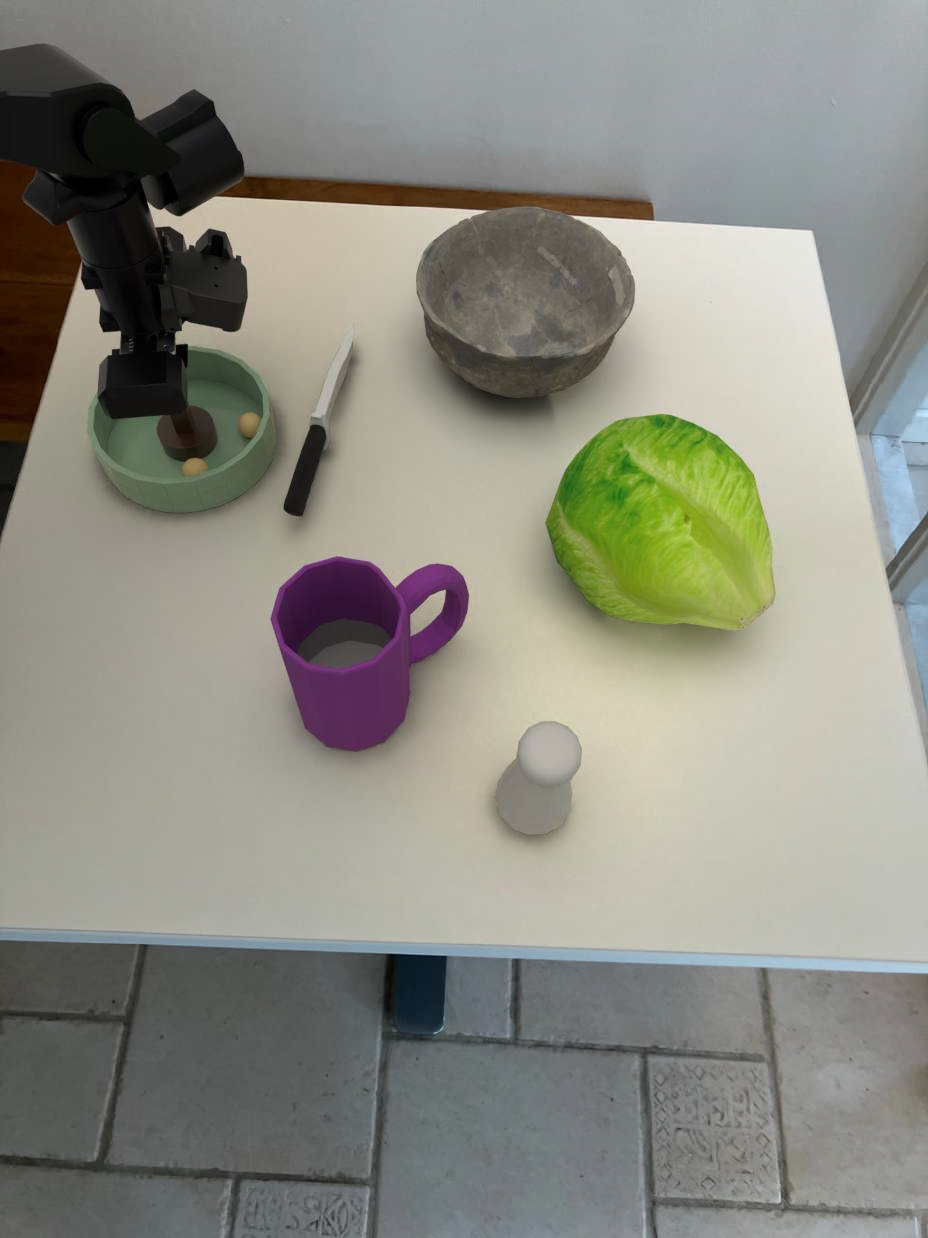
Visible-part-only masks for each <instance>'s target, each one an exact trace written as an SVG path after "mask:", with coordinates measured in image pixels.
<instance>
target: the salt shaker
mask: <svg viewBox="0 0 928 1238" xmlns="http://www.w3.org/2000/svg"><path fill="white" fill-rule="evenodd" d="M582 755H583V747H582V745H581V742H580V739H579V737H578V735H577V734H576V733H575V732H574V731H573V730H572V729H571V728H570V727H569V726H568V725H565V724H563V723H561V722H558V721H555V720H547V721H539V722H537V723H536V724H533V725H531V726H530V727H529V726H528V728H527V729H526V730H525V732H524V733H523V735H522V736H521V738H519V740H518V744H517V750H516V758H515V759H513V761H512V762H511V763H509V765H507V766H506V768H505V769H504V771H503V772H502V773H501V775H500V776H499V778H498V779H497V782H496V788H495V793H494V799H495V803H496V805H497V807H498V808H497V809H498V811H499V814H500V817H501V818H502V819H503V820H504V821H505V822H506V823H507V824H508V825H509V826H510V828H511V829H512V830H515V831H518V832H521V833H523V834H526V835H528V836H529V835H530V836H531V835H546V834H548V833H549V832H551V831H553V830H555V829H556V828H558V827H560V826H561V825H562V824H563V823H564V821H565V819H566V818H567V816H568V815H569V813H570V812H571V808H572V798H573V790H572V780H573V778H574V776H575V775H576V773H577V772H578V771H579V769H581V765H582V757H583V756H582Z"/></svg>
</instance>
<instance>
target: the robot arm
mask: <svg viewBox="0 0 928 1238" xmlns="http://www.w3.org/2000/svg"><path fill="white" fill-rule="evenodd" d="M0 161H5V162H11V163H14V164H18V165H20V166H21V165H22V166H25V167H27V168H28V167H29V168H31V169H34V170H35V174H34V177H33V179H32V180H31V182H29V183H28V185H27V186H26V188H25V191H24V192H23V194H22V200H23V202H24V203H25V204H26V205H27V206H28V207H30V208H31V209H33V210H34V211H35V212H36V213H37V214H39V216H41V217H43V218H44V219H45V220H46V221H47V222H49V223H50V224H51V225H53V226H55V227H60V226H61V225H63V224H65V223H66V224H67V226H68V229H69V231H70V234H71V236H72V239H73V241H74V244H75V246H76V249H77V251H78V254H79V256H80V259H81V268H80V269H81V272H80V280H81V283H82V285H83V288H84V290H85V291H90V290H94V292H95V296H96V298H97V300H98V302H99V316H98V317H99V318H98V324H99V326H100V328H101V331H102V333H115V332H116V333H117V332H120V340H119V348H112V349H111V354H107V356H106V357H105V358H104V359H103V360H102V361H101V362H100V363H99V367H98V380H97V390H98V393H97V399H98V401H99V403H100V405H101V407H102V409H103V411H104V414H105V415H106V416H108V417H109V418H111V419H124V418H137V417H149V416H161V415H174V414H181V413H182V412H183V411H184V410H186V409H187V403H188V382H187V376H186V369H187V366H188V346H189V344H188V343H178V344H177V336H176V334H177V332H183V325H184V324H185V322H187V323H190V324H195V325H198V326H199V325H200V326H205V327H211V328H214V329H215V328H216V329H220V330H222V331H223V332H226V333H237V332H238V331H240V330H241V327H242V324H243V319H244V316H245V311H246V307H247V303H248V299H249V290H248V289H249V288H248V287H249V286H248V270H247V267H246V266H245V265H244V264H243V262H242V255H238V254H236V255H235V256H234V252H233V251H234V250H233V246H232V244H231V241H230V239H229V236H228V233H227V232H226V231H222V230H219V229H215V228H208V229H206V231H205V232H204V233H203V234H201V236H200V237H198V239H197V240H196V241H195V244H194V245H193V244H189V245H188V246H187V243H186V240H185V236H184V234H183V233H181V232H180V231H178V230H176V229H174V228H173V227H171V226H169V225H167V226H156V225H155V222H154V218H153V215H152V212H151V209H150V206H152V208H154V209H156V210H158V211H162V210H164V209H165V210H166V212H168V213H169V214H171V215H173V216H175V217H178V218H179V217H180V218H181V217H183V216H184V215H187V214H188V213H189V212H191V211H193V210H195V209H196V208H198V207H200V206H201V205H203V204H205V203H206V202H208V201H210V200H212V199H213V198H215V197H217V196H219V195H220V194H222V193H224V192H225V191H227V190H229V189H230V188H232V187H234V186H235V185H237V184H239V183H240V182H242V181H243V179H244V177H245V162H244V157H243V154H242V152H241V151H240V150H239V149H238V146H237V145H236V142H235V140H234V138H233V136H232V134H231V133H230V131H229V129H228V128H227V126H226V125H225V123H224V122H223V121H222V120H221V118H220V117H219V116H218V115H217V110H216V106H215V101H214V100H212V99H211V98H209V97H208V96H206V95H205V94H204V93H202V92H200V91H198V90H197V89H195V88H192V89H191V90H189V91H187V92H185V93H183V94H182V95H180V96H179V97H178V98H177V99H176V100H175V101H174V102H171V103H170V104H168V105H167V106H165V107H163V108H161V109H159V110H157V111H155V112H153V113H152V114H150V115H147V116H145V117H143V118H142V119H139V118H137V117H136V113H135V111H134V108H133V106H132V103H131V100H130V99H129V98H128V96H127V95H126V94H125V93H124V92H123V90H122V89H121V88H119V87H118V86H117V85H115V84H114V83H113V82H111V81H109V80H108V79H107V78H105V77H104V76H102V75H101V74H99V73H98V72H96V71H95V70H93V69H92V68H91V67H89V66H88V65H86V64H85V63H83V62H82V61H80V60H79V59H77V58H76V57H74V56H73V55H71V54H70V53H69V52H67V51H65V50H64V49H62V48H61V47H59V46H56V45H54V44H49V43H34V44H28V45H23V46H17V47H11V48H5V49H0ZM149 205H150V206H149Z"/></svg>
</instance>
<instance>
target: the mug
mask: <svg viewBox="0 0 928 1238" xmlns="http://www.w3.org/2000/svg"><path fill="white" fill-rule="evenodd" d="M443 591H445V595H444V602H443V604H442V608H441V612H440V613H439V614H438V615H437V616H436V617H435V618H434V619H433V620H432V621H431V622H430V623H429V624H427V626H425V627H424V628H423V629H422V630H420V631H419V632H417V633H415V634H413V635H412V633H411V632H412V631H411V629H412V628H411V627H412V624H411V622H412V621H411V615H412V614H413V613H414V612H415V611H416V610H417V609H419V608H420V606H421V605H423V603H425V602H426V601H427V599H429V597H430V596H433V595H435V594H437V593H439V592H443ZM469 600H470V593H469V589H468V584H467V582H466V579H465V576H464V575H463V574H462V573H461V572H460V571H459V570H458V569H456V568H455V567H454V566H453V565H450V564H445V563H444V564H443V563H429V564H427V565H425V566H422V567H420V568H418V569H416V570H414V571H413V572H412V573H410V574H409V575H407V576H406V577H405V578H404V579H402V581H400V582H399V583H398V584H397V585H396V587H395V586H394V585H393V583H392V582H391V581H390V579H389V578H388V576H387V575H386V574H385V573H384V572H383V571H382V569H381V568H380V567H379V566H377V565H376V564H374V563H373V562H372V561H369V560H363V559H356V558H350V557H344V556H338V555H336V556H333V557H329V558H326V559H322V560H317V561H314V562H312V563H308V564H304V565H303V566H302V567H301V568H299V570H296V572H295V573H294V574H293V575H292V576H291V577H289V578H288V579H287V580H286V581H285V582H284V583H283V584H282V585H281V586H280V587H279V588H278V591H277V594H276V597H275V601H274V605H273V608H272V612H271V614H270V623H271V626H272V629H273V632H274V635H275V640H276V642H277V646H278V648H279V651H280V655H281V658H282V661H283V664H284V667H285V670H286V673H287V677H288V679H289V682H290V686H291V689H292V692H293V695H294V698H295V701H296V705H297V708H298V711H299V714H300V718H301V720H302V724H303V727H304V729H306V730H307V731H308V732H309V733H310V734H312V735H313V736H314V737H315V738H316V739H317V740H319V741H320V742H321V743H322V744H324V745H325V746H326V747H328V748H329V747H330V748H334V749H340V750H347V751H352V752H358V751H361V750H364V749H367V748H370V747H373V746H376V745H379V744H382V743H385V742H386V741H387V740H388V739H389V737H390V736H391V735H393V733H394V732H395V731H396V730H397V729H398V728H399V727H400V726H401V724H403V722H404V721H405V719H406V714H407V710H408V705H409V701H410V696H411V685H410V683H411V682H410V680H411V679H410V668H411V667H412V666H413V665H415V664H418V663H421V662H423V661H425V660H426V659H428V658H430V657H431V656H433V655H435V654H436V653H438V652H439V651H440V650H441V649H443V648H444V647H445V646H446V645H447V644H448V643H450V642H451V641H452V640H453V638H454V637H455V636H456V634H457V633H458V632H459V631H460V629H461V628H462V627H463V625H464V622H465V620H466V618H467V615H468V611H469V603H470V602H469Z"/></svg>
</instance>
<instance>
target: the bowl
mask: <svg viewBox="0 0 928 1238" xmlns="http://www.w3.org/2000/svg"><path fill="white" fill-rule="evenodd" d="M415 284H416V285H415V286H416V295H417V298H418V301H419V303H420V306H421V309H422V311H423V321H424V330H425V336H426V338H427V340H428V342H429V345H430V347H431V348H432V350H433V351H434V353H435V354H436V356H437V357H438V358H439V360H440V361H441V362H442V363H443V364H444V365H445V367H447V368H448V369H450V370H451V371H452V372H453V373H455V374H456V375H458V376H459V377H460V378H462V380H464V381H465V382H467V383H469V384H470V385H472V386H473V387H475V388H477V389H479V390H481V391H484V392H487V393H490V394H494V395H497V396H501V397H506V398H514V399H523V398H526V399H528V398H536V397H544V396H547V395H550V394H554V393H557V392H561V391H563V390H566V389H568V388H569V387H570V388H571V386H573V385H576V384H578V383H580V382H581V381H582V380H584V379H585V378H587V377H588V376H589V375H590V374H592V372H594V371H595V370H596V369H597V368H598V367H600V366H599V365H600V364H601V363H602V362H603V361H604V359H605V358H606V356H607V355H608V352H609V351H610V349H611V347H612V344H613V342H614V341H615V336H616V335H617V333H618V332H619V331H620V329H621V328H622V327H624V325H625V323H626V321H627V319H628V318H629V317H630V315H631V313H632V311H633V308H634V304H635V297H636V281H635V278H634V276H633V275H632V270H631V268H630V266H629V264H628V262H627V258H625V257H624V256H623V254H622V251H621V250H620V249H619V247H618V246H617V245H615V244H614V243H612V241H610V240H609V239H608V238H607V236H606V235H604V234H603V232H602V231H600V230H599V229H597V228H595V227H594V226H592V225H590V224H589V223H586V222H584V221H582V220H581V219H577V218H575V217H574V216H572V215H569V214H567V213H563V212H560V211H556V210H552V209H548V208H544V207H543V208H542V207H541V206H512V207H503V208H498V209H493V210H488V211H487V210H486V211H484V212H482V213H478V214H475V215H472V216H470V218H469V217H466V218H464V219H462V220H460V221H459V222H458V223H457V224H454V225H453V226H452V225H451V227H449V228H447V229H446V230H445V231H443V232H442V233H441V234H440V235H438V236H437V237H436V238H435V239H433V240H432V241H431V242H430V243H429V244H428V245H427V246H426V248H425V249H424V250H423V252H422V255H421V258H420V260H419V263H418V266H417V270H416V274H415Z"/></svg>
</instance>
